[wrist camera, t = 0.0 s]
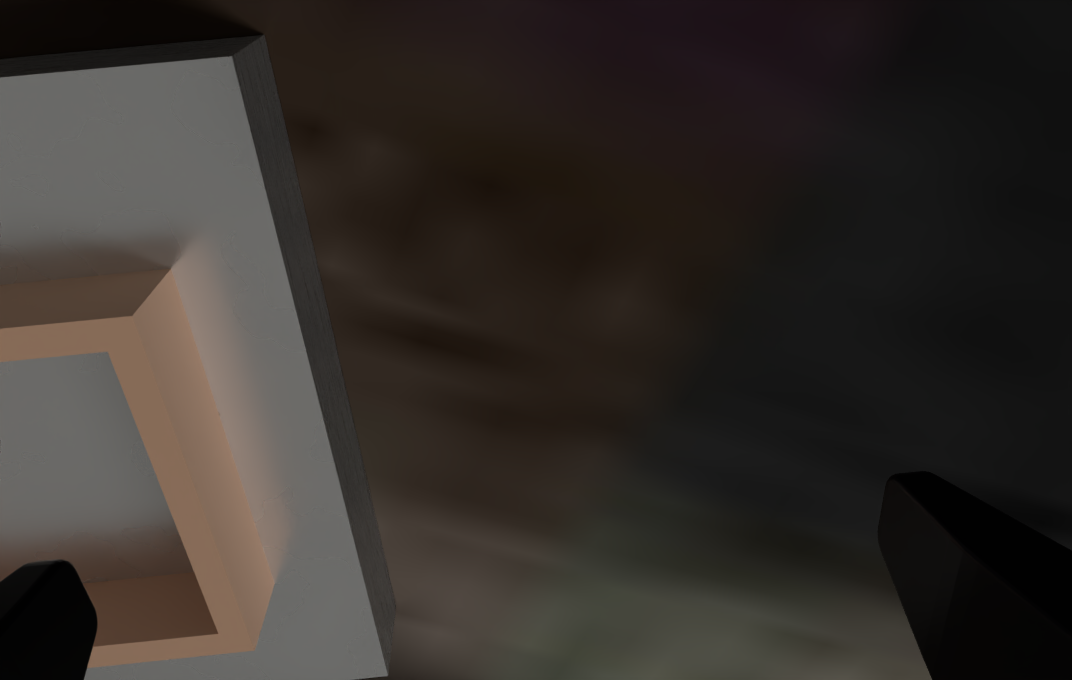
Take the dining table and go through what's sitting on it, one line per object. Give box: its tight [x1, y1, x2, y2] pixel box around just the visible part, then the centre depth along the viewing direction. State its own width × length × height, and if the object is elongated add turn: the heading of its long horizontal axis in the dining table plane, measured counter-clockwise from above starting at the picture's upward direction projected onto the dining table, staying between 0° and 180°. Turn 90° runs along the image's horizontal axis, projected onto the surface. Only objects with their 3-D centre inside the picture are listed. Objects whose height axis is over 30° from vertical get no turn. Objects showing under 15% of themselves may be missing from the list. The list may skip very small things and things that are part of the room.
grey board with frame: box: [0, 35, 396, 680], centre depth 22 cm, size 20×16×6 cm
